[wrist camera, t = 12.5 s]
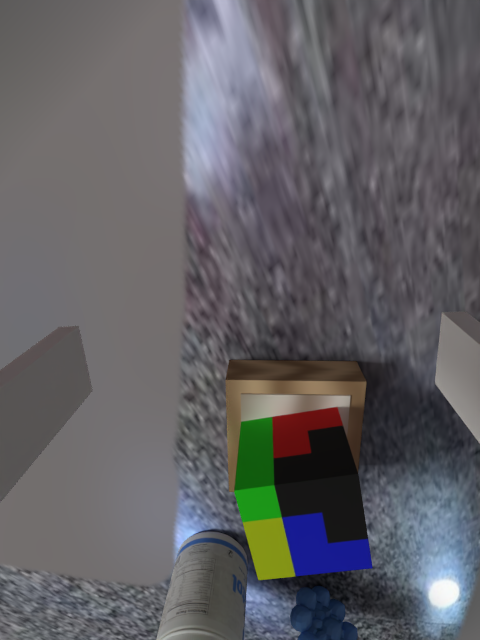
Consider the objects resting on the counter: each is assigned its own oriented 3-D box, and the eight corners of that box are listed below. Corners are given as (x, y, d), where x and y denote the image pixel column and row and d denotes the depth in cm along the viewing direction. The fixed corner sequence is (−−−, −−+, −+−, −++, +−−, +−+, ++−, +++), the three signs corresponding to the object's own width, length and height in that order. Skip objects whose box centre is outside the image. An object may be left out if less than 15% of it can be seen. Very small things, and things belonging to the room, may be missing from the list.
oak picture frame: (356, 361, 46) (367, 382, 41) (347, 466, 50) (356, 496, 45) (229, 359, 46) (225, 380, 42) (232, 463, 51) (228, 493, 46)
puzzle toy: (350, 485, 45) (372, 568, 36) (259, 497, 46) (258, 580, 37) (337, 406, 42) (358, 473, 32) (240, 421, 43) (233, 490, 34)
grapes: (267, 581, 57) (268, 681, 46) (302, 555, 55) (312, 653, 44) (326, 624, 59) (341, 730, 48) (362, 601, 57) (386, 705, 46)
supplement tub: (258, 571, 57) (256, 700, 43) (195, 587, 58) (174, 716, 45) (231, 519, 54) (219, 638, 40) (166, 537, 56) (133, 657, 42)
